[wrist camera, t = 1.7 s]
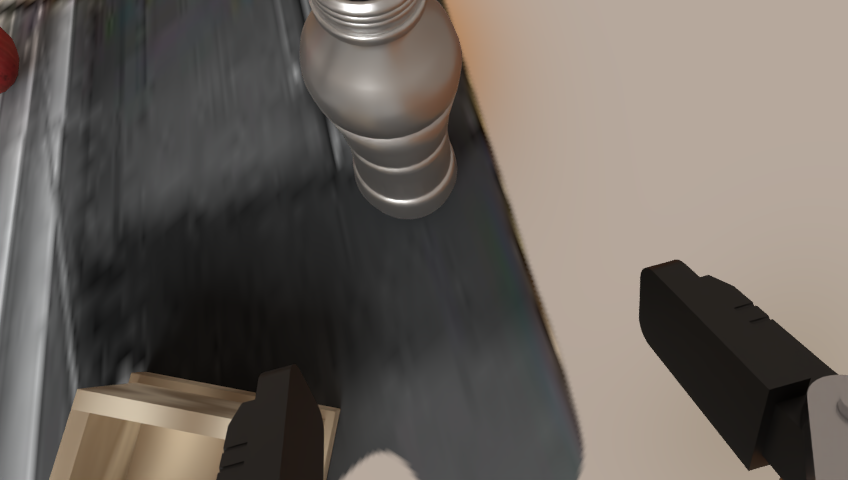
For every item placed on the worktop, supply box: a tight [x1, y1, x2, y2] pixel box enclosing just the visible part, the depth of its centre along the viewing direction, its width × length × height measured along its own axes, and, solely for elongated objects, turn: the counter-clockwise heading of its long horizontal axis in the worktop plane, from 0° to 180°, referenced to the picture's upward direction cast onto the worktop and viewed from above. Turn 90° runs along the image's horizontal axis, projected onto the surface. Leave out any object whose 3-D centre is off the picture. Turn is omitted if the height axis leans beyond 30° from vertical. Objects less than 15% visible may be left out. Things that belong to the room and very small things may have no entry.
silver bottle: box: [300, 0, 462, 219], centre depth 24 cm, size 6×7×20 cm
